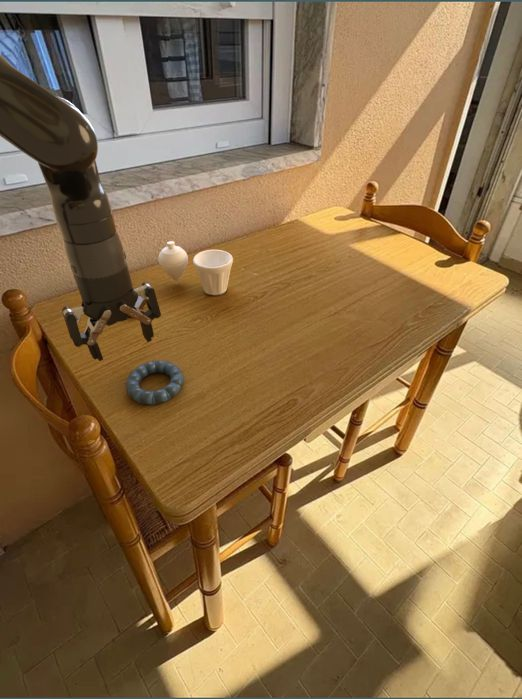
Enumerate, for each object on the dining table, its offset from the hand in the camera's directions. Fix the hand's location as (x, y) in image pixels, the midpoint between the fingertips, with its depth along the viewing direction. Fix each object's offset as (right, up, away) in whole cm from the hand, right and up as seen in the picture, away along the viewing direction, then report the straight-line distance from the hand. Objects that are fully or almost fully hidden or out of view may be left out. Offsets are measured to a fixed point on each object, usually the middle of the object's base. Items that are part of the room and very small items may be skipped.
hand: (124, 348), depth 65 cm
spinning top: (+1, +18, +39) cm, 42 cm away
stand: (-10, +11, +30) cm, 34 cm away
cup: (+11, +16, +36) cm, 41 cm away
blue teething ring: (+3, -6, +9) cm, 11 cm away
